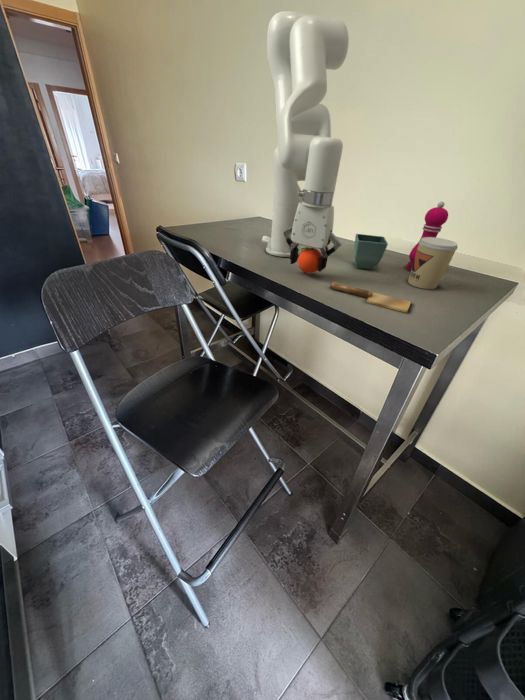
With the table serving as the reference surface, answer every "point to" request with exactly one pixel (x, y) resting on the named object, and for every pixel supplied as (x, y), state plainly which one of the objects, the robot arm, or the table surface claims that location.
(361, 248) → the flower pot
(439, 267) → the coffee cup
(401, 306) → the spatula
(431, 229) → the pepper mill
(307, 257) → the clementine
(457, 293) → the table surface
